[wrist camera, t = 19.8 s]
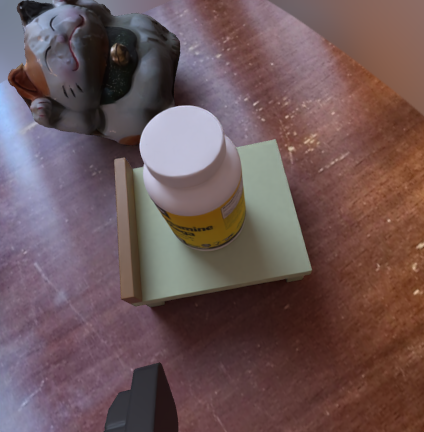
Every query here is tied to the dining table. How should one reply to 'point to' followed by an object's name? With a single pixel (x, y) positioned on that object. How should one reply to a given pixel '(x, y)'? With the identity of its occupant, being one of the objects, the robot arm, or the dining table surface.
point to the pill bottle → (194, 177)
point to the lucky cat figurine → (95, 68)
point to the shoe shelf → (218, 259)
